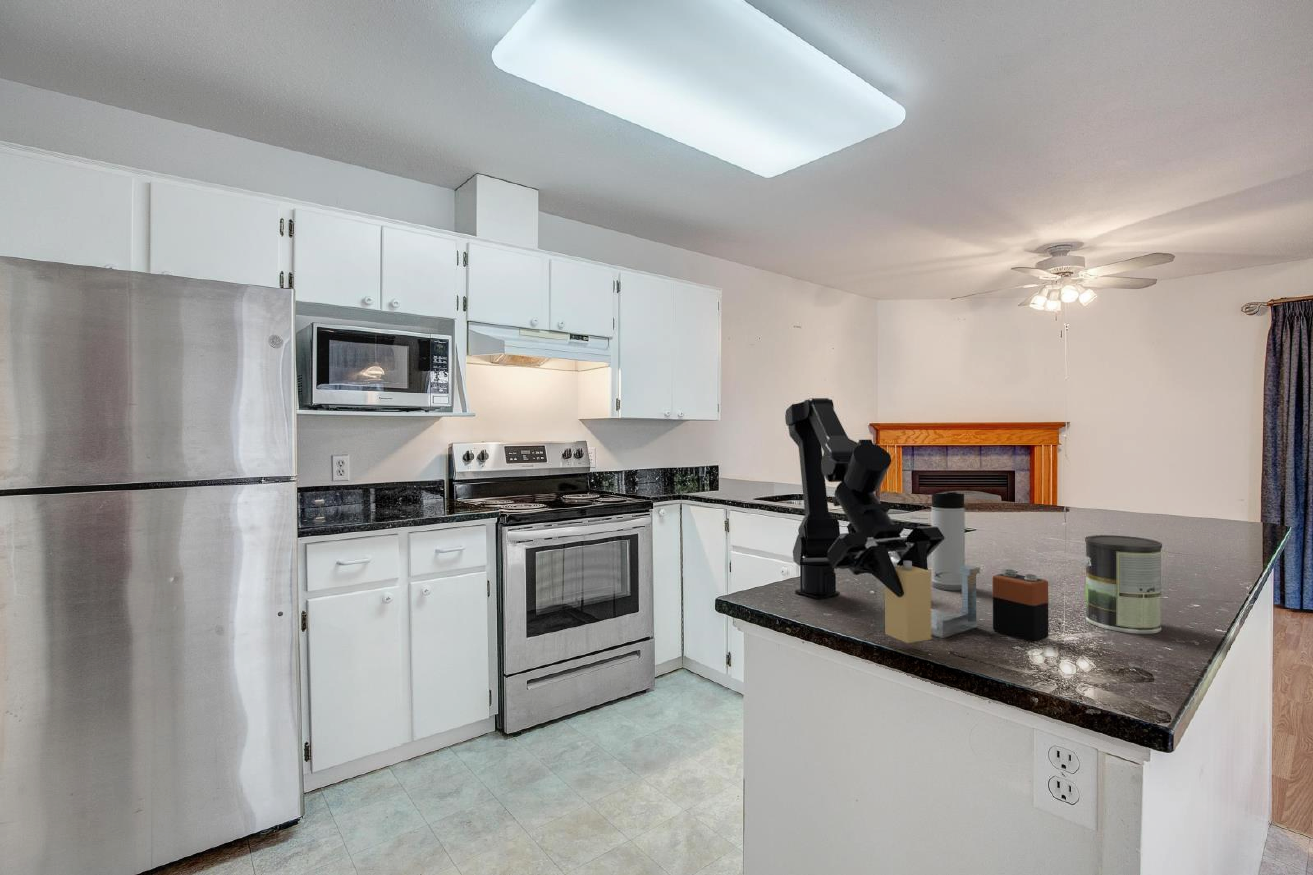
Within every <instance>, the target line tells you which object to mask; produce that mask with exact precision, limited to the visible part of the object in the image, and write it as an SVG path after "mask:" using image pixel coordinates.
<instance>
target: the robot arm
mask: <svg viewBox="0 0 1313 875" xmlns="http://www.w3.org/2000/svg"><path fill="white" fill-rule="evenodd" d="M834 407H835V406H834V401H833V399H831V398H829V397H821V398H820V397H816V398H815V397H814V398H813V397H812V398H811V397H810V398H808V399H805V400H804V401H802V402H798V403H792V404H791V405H790V406H789V407H787V408H786V410H785V413H784V415H785V416H784V418H785V419H784V420H785V425H786V426H788V433H789V437H790V438H791V439H792V440H793V442H794V443H795V444H796V445H797V447H798V454H799V456H798V458H799V465H800V474H801V475H800V476H801V477H800V478H801V486H802V497H803V506H804V517H803V519H802V521H801V523H800V525H799V526H798V529H797V530H798V534H797V536H796V540H795V542H794V545H793V549H792V557H793V558H792V559H793V562H794V563H795V564H796V565H798V566H799V568H800V569H799V572H800V574H799V576H800V577H799V578H800V579H799V580H800V581H799V582H800V584H799V585H800V588H798V589H795V590H794V593H796V594H799V595H803V596H806V597H810V598H813V599H817V600H819V599H824V598H829V597H835V596H837V595H840V594H841V592H840V591H839V590H837V586H836V585H837V582H836V581H837V578H836V577H837V575H836V572H835V570H836V569H840V570H845V569H846V570H847V569H848V570H849V571H850V572H851V573H852V574H853V575H855V576H860V575H862V574H871V575H872V576H873V577H875V578H876V579H877V580H878V581H879V582H881V583H882V584H883V585H884V587H885V586H886V587H887V588H888V589H890V590H891V591H892V592H893V593H894V594H895V595H896V596H898V597H902V596H903V595H904V591H903V588H902V585H901V582H900V580H899V577H898V575H897V572H896V570H895V568H894V565H893V563H892V560H891V558H890V557H891V556H890V554H889V553H891V552H894V551H895V552H896V553H897V554H898V556H899V557H900V561H899V562H898V563H897V565H899V566H903V561H912V566H914V567H917V568H921V569H925V570H929V567H928V557H929V556H930V555H932V552H933V551H934V550H935V548H936V547H937V546H938V545H939V544H940V543H941V542H942V541H943V540H944V539H945V537H944V536H943V534H942V533H941V531H940V530H939V528H938V527H934V526H932V525H930V526H929V525H928V526H925V525H924V526H918V527H916V526H915V527H913V529H912V530H911V532H910V533H909V534H908V535H907V536H901V534H902V532H903V531H904V529H905V528H904V527H903V526H902V524H901V523H896V524H895V523H894V522H893V521H892V519H891V518H890V515H889V514H888V512H889V511H890V510H891V507H890V505H889V503H885V502H884V503H881V501H880V500H879V498H878V497H877V495H876V493H875V492H877V491H878V490H880V488H881V486H882V483H883V481H884V479H885V476H886V475H887V473H888V470H889V468H890V467H891V466H890V465H891V464H892V457H891V454H890V453H889V452H887V450H886V449H884V448H883V447H881V446H880V445H878V444H874V443H873V441H872V439H869V438H868V439H858V442H857V441H855V440H854V439H850V438H849V436H848V435H847V432H846V430H845V429H844V427H843V425H842V423H841V421H840V419H839V417H838V415H837V413H836V411H835V410H834V409H835V408H834ZM826 480H827V481H828V482H829V483H838V484H837V486H836V488H835V490H834V496H833V501H832V502H833V503H832V504H833V506H834V507H839V506H840V507H841V509H842V510H843V513H844V514H845V516H846V517H847V520H848V521H849V523H848V525H847V526H846V529H847V532H846V533H841V529H840V522H839V520H838V518H836V517H833V516H832V514H831V513H830V511H829V503H828V493H827V486H826Z"/></svg>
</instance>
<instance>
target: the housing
mask: <svg viewBox="0 0 1313 875" xmlns="http://www.w3.org/2000/svg"><path fill="white" fill-rule="evenodd" d="M894 568H895V570H896V572H897V575H898V577H899V580H900V582H901V585H902V588H903V591H904V595H903V596H902V597H898V596H896V595H895V594H894V593H893V592H892V591H891V590H890V589H888V588H887V587H886V586H885V585H884V624H885V625H884V631H885V632H884V633H885V635H888V636H889V637H892V638H894V639H896V640H899V641H901V642H903V643H906V644H910V643H915V642H916V643H917V642H921V641H927V640H932V635H931V609H932V570H929V569H928V570H925V569H921V568H917V567H914V566H912V561H903V566H896V567H894Z"/></svg>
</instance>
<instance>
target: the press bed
mask: <svg viewBox="0 0 1313 875" xmlns="http://www.w3.org/2000/svg"><path fill="white" fill-rule="evenodd" d="M958 574H962V590H961V612H960V613H956V614H954V613H949V612H946V611H943V610H942V611H941V610H938V609H933V608H931V636H935V637H938V638H942V639H945V638H947V637H950V636H954V635H956V634H959V633H963V632H967V631H969V630H972V629H975V628H977V575H978V574H981V567H980V566H977V565H976V566H975V565H969V564H967V565H965V566H962V567H958Z"/></svg>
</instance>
